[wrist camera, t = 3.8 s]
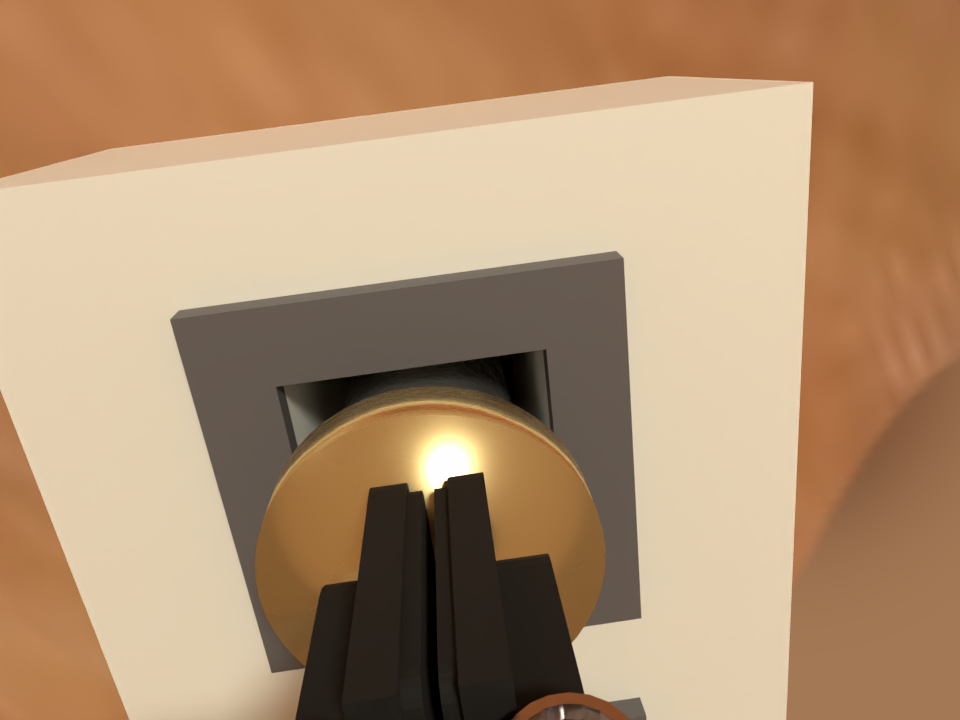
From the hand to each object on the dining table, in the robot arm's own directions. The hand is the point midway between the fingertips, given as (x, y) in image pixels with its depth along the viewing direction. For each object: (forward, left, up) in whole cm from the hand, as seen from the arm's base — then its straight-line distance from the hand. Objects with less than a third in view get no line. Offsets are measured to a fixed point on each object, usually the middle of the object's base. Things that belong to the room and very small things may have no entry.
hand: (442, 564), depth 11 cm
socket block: (-5, 0, -11) cm, 12 cm away
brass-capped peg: (0, 0, -8) cm, 8 cm away
